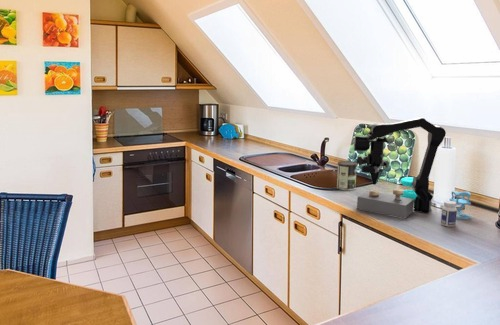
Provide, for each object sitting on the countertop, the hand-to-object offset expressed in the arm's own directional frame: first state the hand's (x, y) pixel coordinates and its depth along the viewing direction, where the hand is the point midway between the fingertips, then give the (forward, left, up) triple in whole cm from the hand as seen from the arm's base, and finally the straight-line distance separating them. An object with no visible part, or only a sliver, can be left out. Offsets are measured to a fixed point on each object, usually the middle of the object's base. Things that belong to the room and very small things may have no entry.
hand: (374, 184), depth 201 cm
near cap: (-11, 0, -7) cm, 13 cm away
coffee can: (+25, -26, -12) cm, 38 cm away
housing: (-6, 0, -12) cm, 13 cm away
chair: (-35, -13, -12) cm, 39 cm away
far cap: (0, 0, -10) cm, 10 cm away
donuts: (-9, -28, -12) cm, 31 cm away
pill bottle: (-34, +2, -12) cm, 36 cm away
